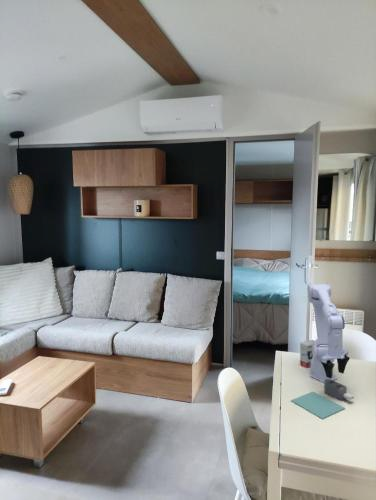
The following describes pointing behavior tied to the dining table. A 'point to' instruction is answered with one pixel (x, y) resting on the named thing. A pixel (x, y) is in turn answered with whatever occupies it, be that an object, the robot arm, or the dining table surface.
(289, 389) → the dining table surface
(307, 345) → the ink box
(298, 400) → the charging mat
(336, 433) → the dining table surface
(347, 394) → the cylinder
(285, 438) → the dining table surface
